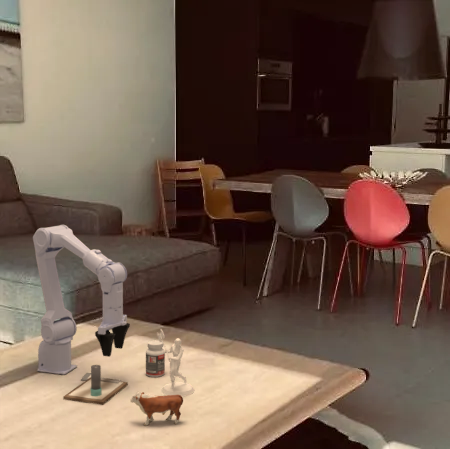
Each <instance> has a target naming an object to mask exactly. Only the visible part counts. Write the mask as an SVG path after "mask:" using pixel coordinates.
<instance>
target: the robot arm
mask: <svg viewBox="0 0 450 449" xmlns="http://www.w3.org/2000/svg"><path fill="white" fill-rule="evenodd" d="M32 241H33V245H34V246H33V248H34V250H35V253H34V254H35V260H36V264H37V269H38V275H39V280H40V286H41V290H42V294H43V295H42V296H43V300H44V306H45V311H46V312H45V313H44V315H43V316H42V317H41V318H40V325H41V327H40V336H41V338H42V341H41V342H40V343H39V345H38V349H37V352H38V353H37V354H38V356H37V357H38V368H37V369H36V371H37V372H42V373H49V374H57V375H66V374H68V373H70V372H71V371H73V370H75V368H77V367H78V365H76V364H72V341H73V340H74V336H75V335H76V333H77V323H76V321H75V320H74V318H73V313H72V311H69V310H68V309H67V308H66V307H65V302H64V299H63V293H62V288H61V283H60V278H59V273H58V267H57V262H56V256H57V255H58V253H59V252H60V251H62V250H63V249H64V248H65V249H66V250H68V251H70V252H71V253H73V254H74V255H75V256H77V257H79V258H80V259H82V264H83V266H84V267H85V268H87V269H88V270H89V271H91V272H92V273H93V274H95V275H96V276H97V280H98V282H99V284H100V289H101V291H102V321H101V323H100V325H99V326H98V327H97V331H94V336H95V337H96V339H97V340H98V342H99V345H100V349H101V353H102V355H103V357H111V355H112V351H113V346H114V348H115V349H121V350H122V349H123V347H124V344H125V338H126V336H127V333H128V330H129V329H130V327H131V325H130V323H128V315H127V314H124V305H123V304H124V298H123V297H124V288H123V287H124V282H125V281H126V280H127V277H128V271H127V268H126V267H125V265H124V264H123V263H122V262H119V261H118V262H115V261H113V260H112V259H110V258H108V257H107V256H106V255H104V254H103V253H102V251H101V250H100V249H95V248H94V249H90V248H89V247H88V246H86V244H84V243H83V242H82V241H81V240H80V239H79V238H77V237H76V235H74V233H73V229H71V228H69V226H67V225H65V224H60V225H54V226H49V227H40V228H38V229H37V230H36V231H35V233H34V234H33V236H32ZM111 331H112V332H111ZM113 344H114V345H113Z"/></svg>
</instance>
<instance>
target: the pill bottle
mask: <svg viewBox="0 0 450 449" xmlns="http://www.w3.org/2000/svg"><path fill="white" fill-rule="evenodd" d="M165 356H166V353H165V348H164V345H163V342H160V341H159V339H157V340H156V339H155V340H150V341H148V342H147V349H146V350H145V375H147V377H151V378H160V377H162V376H164V375H165V372H166V371H165V369H166V367H165V363H166V362H165V361H166V360H165V359H166V357H165Z"/></svg>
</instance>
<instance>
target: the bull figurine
mask: <svg viewBox="0 0 450 449" xmlns="http://www.w3.org/2000/svg"><path fill="white" fill-rule="evenodd" d="M130 403H134V404H135V405H136V406H138V407H139V409H140V410H141V412H142V413H143V414H145V415H146V420H145V423H144V424H143V426H145V427H147V426H149V424H150V423H152V422H153V421H154V417H153V414H155V413H157V414H161V415H162V416H164V415H165V414H166V413H167V412H168V411H170V412H169V415H168V416H167V417H166V418H165V421H170V420H172V418H173V415H174V416H175V421H174V423H173V424H174V425H178V424H179V423H180V418H181V414H182V413H181V411H180V409H181V407H182V405H183V403H184V398H183V396H181V395H153V394H148V393H145V392H144V391H142V392H141V391H137V392H135V393H134V394H133V396H132V397H131V398H130Z"/></svg>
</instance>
